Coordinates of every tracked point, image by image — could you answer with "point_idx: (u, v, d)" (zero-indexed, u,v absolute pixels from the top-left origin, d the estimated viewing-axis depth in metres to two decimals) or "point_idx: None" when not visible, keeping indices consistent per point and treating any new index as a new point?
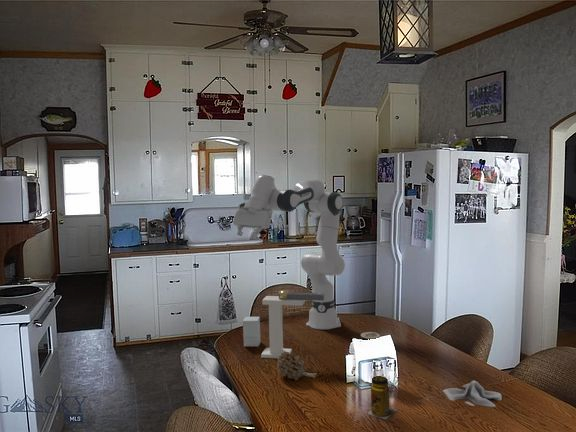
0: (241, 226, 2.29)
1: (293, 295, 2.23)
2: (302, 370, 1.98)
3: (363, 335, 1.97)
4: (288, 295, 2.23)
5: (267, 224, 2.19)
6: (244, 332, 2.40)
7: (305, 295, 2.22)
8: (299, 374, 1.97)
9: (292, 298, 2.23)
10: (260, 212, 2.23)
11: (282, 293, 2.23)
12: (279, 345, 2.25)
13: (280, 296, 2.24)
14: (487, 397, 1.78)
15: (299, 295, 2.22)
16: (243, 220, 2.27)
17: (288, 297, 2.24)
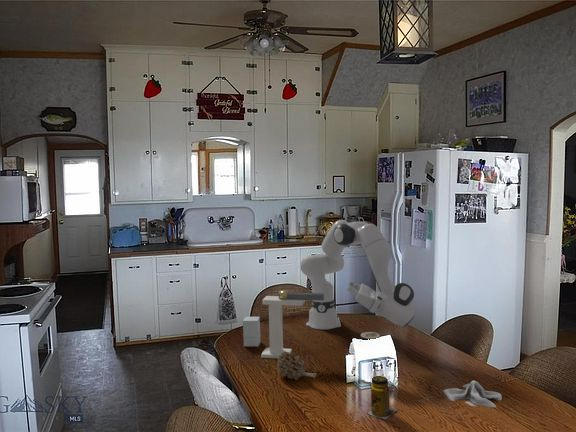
0: None
1: (293, 295, 2.23)
2: (302, 370, 1.98)
3: (363, 335, 1.97)
4: (288, 295, 2.23)
5: None
6: (244, 332, 2.40)
7: (305, 295, 2.22)
8: (299, 374, 1.97)
9: (292, 298, 2.23)
10: None
11: (282, 293, 2.23)
12: (279, 345, 2.25)
13: (280, 296, 2.24)
14: (487, 397, 1.78)
15: (299, 295, 2.22)
16: None
17: (288, 297, 2.24)
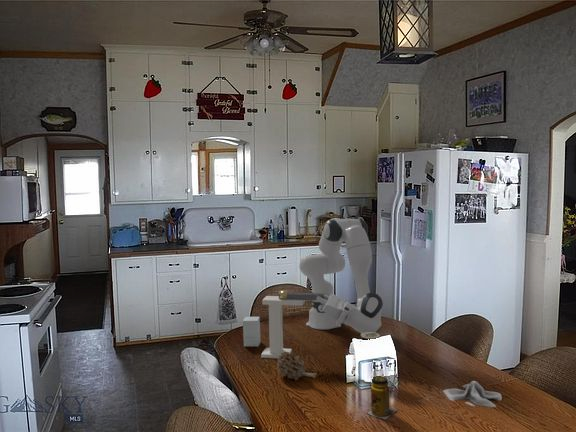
0: None
1: (293, 295, 2.23)
2: (302, 370, 1.98)
3: (363, 335, 1.97)
4: (288, 295, 2.23)
5: None
6: (244, 332, 2.40)
7: (305, 295, 2.22)
8: (299, 374, 1.97)
9: (292, 298, 2.23)
10: None
11: (282, 293, 2.23)
12: (279, 345, 2.25)
13: (280, 296, 2.24)
14: (487, 397, 1.78)
15: (299, 295, 2.22)
16: None
17: (288, 297, 2.24)
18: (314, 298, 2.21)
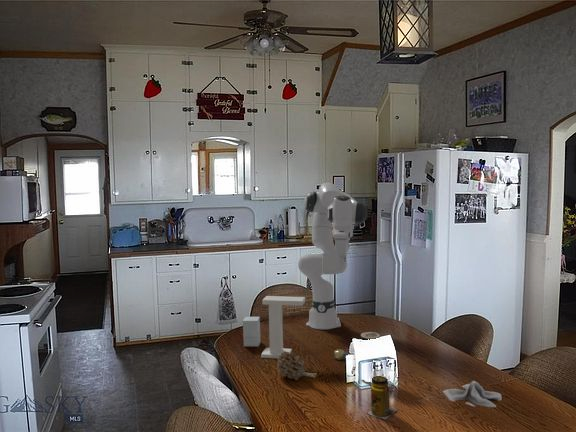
0: None
1: None
2: (302, 370, 1.98)
3: (363, 335, 1.97)
4: (344, 355, 2.20)
5: None
6: (244, 332, 2.40)
7: None
8: (299, 374, 1.97)
9: None
10: None
11: (338, 353, 2.20)
12: (279, 345, 2.25)
13: (336, 356, 2.21)
14: (487, 397, 1.78)
15: None
16: (346, 249, 2.21)
17: (344, 357, 2.21)
18: None
